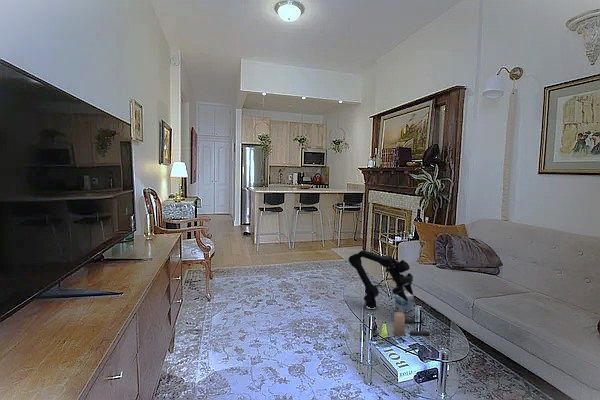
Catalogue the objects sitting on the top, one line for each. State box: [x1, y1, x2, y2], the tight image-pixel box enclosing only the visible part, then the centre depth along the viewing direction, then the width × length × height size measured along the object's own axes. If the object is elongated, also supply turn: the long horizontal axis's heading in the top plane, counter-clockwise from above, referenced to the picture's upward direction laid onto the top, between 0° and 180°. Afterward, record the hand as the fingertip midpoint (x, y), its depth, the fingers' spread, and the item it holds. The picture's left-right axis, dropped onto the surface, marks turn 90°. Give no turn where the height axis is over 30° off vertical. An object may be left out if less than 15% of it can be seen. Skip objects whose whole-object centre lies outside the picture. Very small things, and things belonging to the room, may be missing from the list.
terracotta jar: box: [393, 311, 406, 337], centre depth 193 cm, size 6×6×12 cm
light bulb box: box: [394, 291, 415, 314], centre depth 219 cm, size 11×7×11 cm, turn 117°
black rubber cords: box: [405, 318, 430, 336], centre depth 198 cm, size 11×15×2 cm
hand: (409, 297), depth 206 cm, fingers open, 9 cm apart
